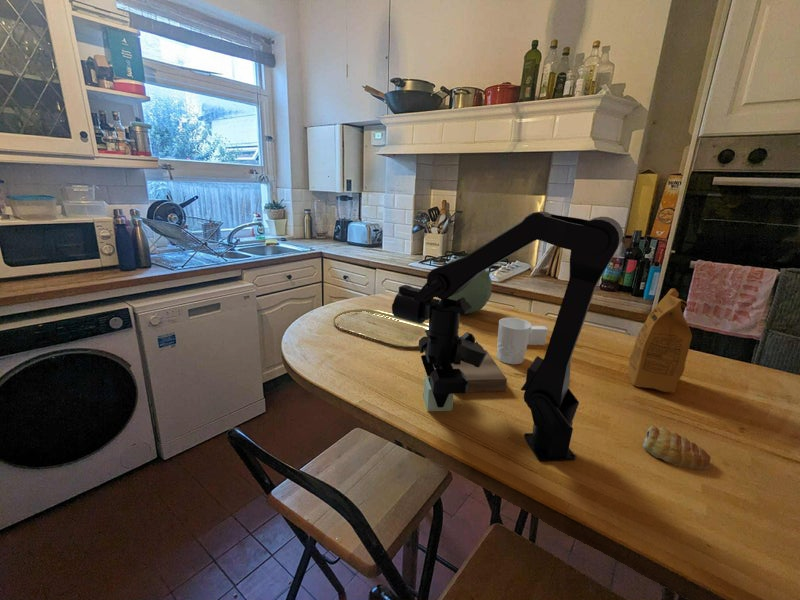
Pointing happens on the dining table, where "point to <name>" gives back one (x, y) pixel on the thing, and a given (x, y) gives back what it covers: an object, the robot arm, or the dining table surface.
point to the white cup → (512, 340)
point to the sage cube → (430, 398)
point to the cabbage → (475, 291)
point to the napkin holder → (537, 335)
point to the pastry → (675, 449)
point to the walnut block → (483, 375)
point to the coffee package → (661, 346)
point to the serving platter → (386, 316)
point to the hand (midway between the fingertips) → (437, 399)
